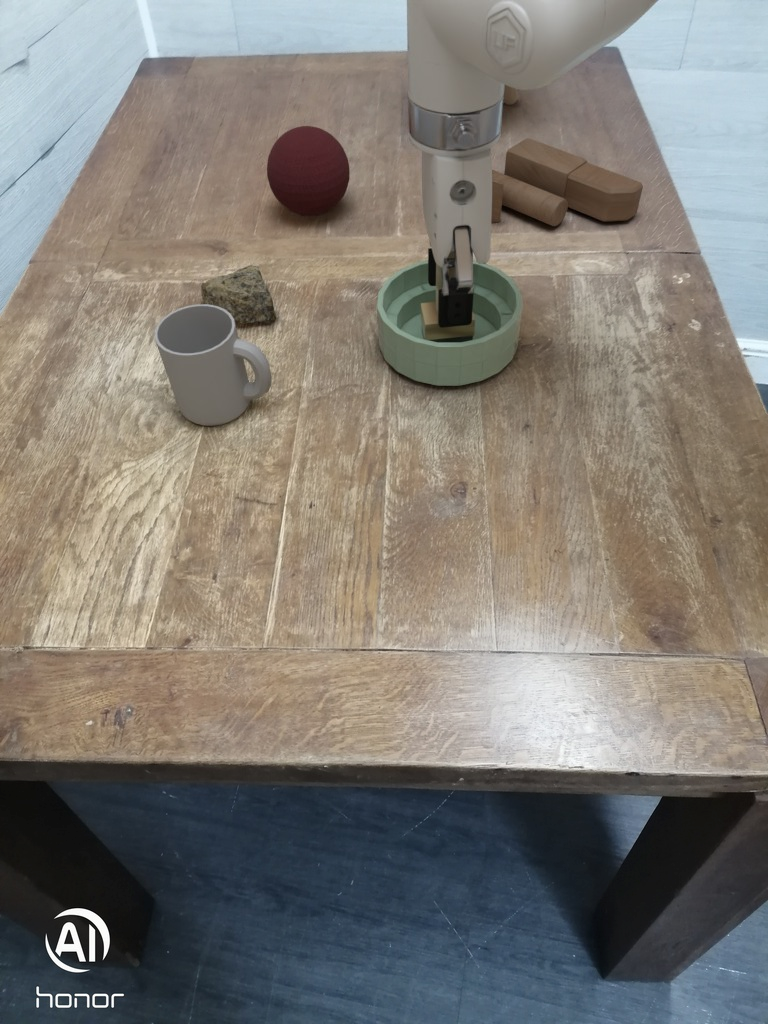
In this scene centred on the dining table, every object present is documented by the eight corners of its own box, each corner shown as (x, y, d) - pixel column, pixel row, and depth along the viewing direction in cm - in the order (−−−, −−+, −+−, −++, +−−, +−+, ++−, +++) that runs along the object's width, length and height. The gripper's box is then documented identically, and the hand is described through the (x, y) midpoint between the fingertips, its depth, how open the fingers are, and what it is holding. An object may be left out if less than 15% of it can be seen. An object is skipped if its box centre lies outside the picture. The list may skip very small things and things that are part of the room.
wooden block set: (522, 126, 97) (648, 171, 89) (518, 169, 101) (637, 217, 93) (434, 179, 89) (563, 234, 81) (434, 224, 94) (556, 280, 86)
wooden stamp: (467, 326, 80) (472, 240, 73) (473, 347, 78) (479, 261, 70) (420, 330, 80) (420, 245, 72) (424, 352, 78) (425, 266, 70)
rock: (213, 338, 82) (204, 303, 78) (201, 296, 86) (191, 261, 83) (278, 323, 83) (272, 288, 79) (263, 283, 88) (256, 248, 84)
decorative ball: (363, 221, 95) (357, 140, 87) (285, 239, 93) (272, 158, 85) (338, 183, 101) (331, 104, 93) (265, 199, 99) (251, 120, 91)
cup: (193, 373, 78) (171, 301, 71) (287, 383, 77) (274, 310, 70) (168, 423, 74) (141, 351, 67) (267, 435, 73) (251, 362, 66)
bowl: (543, 334, 80) (549, 289, 76) (464, 410, 74) (466, 366, 69) (433, 286, 86) (434, 242, 82) (351, 353, 79) (347, 309, 75)
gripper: (524, 165, 56) (504, 356, 71) (481, 67, 67) (471, 250, 81) (423, 175, 56) (423, 364, 70) (396, 75, 67) (401, 257, 81)
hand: (449, 301), depth 76 cm, fingers open, 5 cm apart
